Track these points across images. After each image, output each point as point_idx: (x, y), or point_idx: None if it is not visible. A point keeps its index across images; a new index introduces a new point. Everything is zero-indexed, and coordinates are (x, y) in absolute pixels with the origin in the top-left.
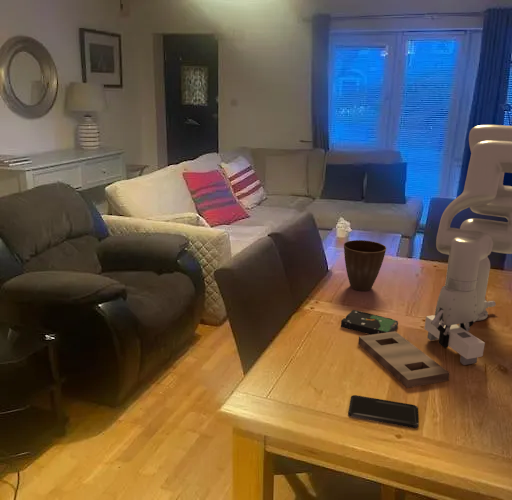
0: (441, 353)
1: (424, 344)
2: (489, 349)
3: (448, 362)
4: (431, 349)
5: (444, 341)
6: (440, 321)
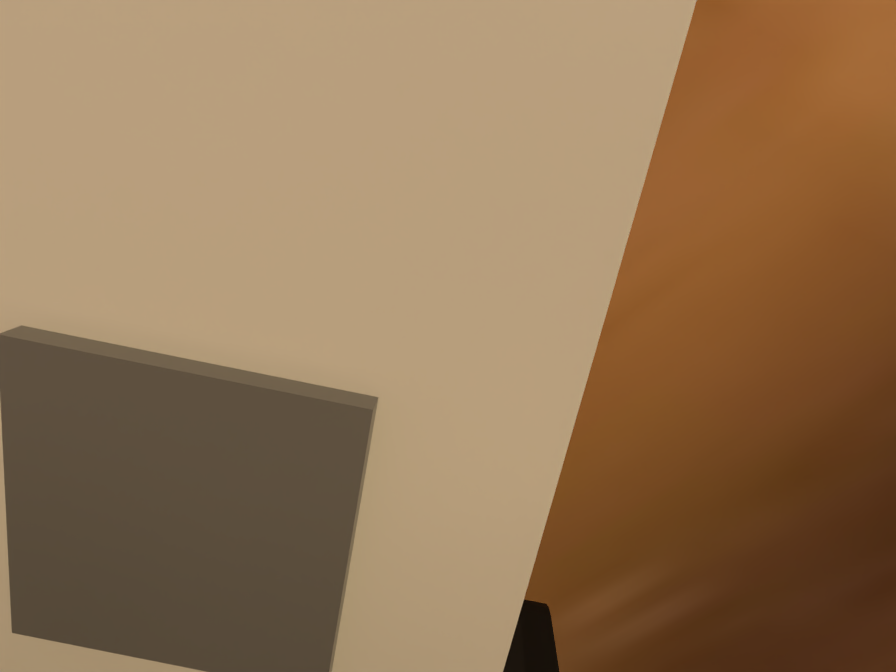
0: None
1: None
2: (842, 647)
3: None
4: None
5: None
6: (48, 425)
